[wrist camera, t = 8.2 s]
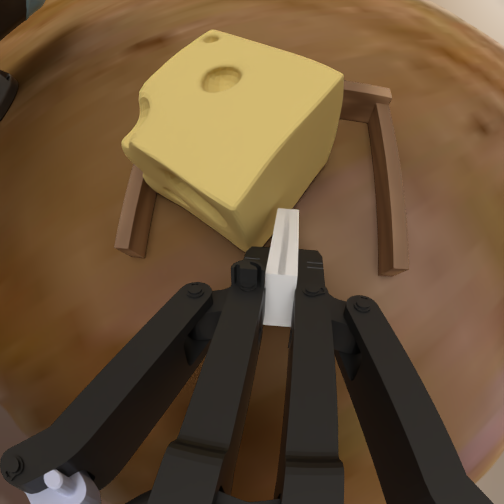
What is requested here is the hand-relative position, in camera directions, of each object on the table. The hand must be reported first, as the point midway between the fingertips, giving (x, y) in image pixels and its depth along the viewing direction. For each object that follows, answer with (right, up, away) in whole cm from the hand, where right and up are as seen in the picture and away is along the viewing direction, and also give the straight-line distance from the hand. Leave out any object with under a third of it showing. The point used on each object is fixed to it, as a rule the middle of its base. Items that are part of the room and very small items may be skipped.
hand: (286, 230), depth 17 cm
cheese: (-3, +5, +6) cm, 8 cm away
